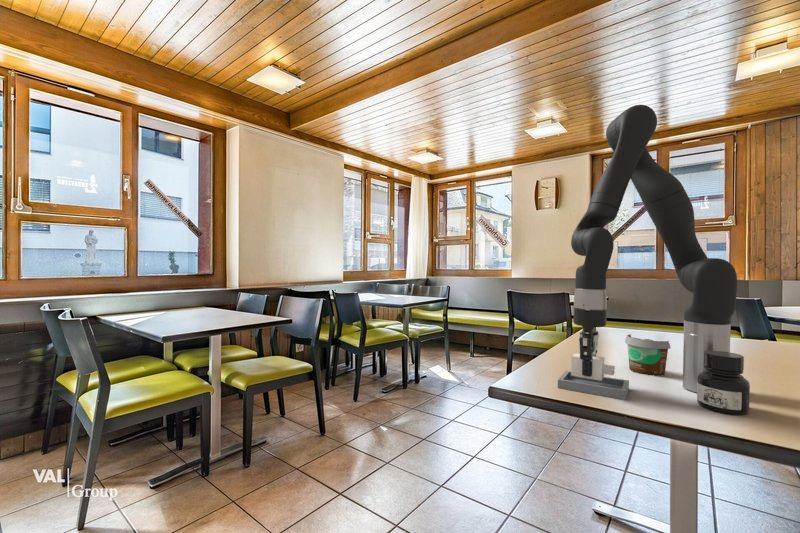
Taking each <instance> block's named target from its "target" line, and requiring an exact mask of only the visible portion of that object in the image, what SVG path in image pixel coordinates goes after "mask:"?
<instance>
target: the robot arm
mask: <svg viewBox="0 0 800 533" xmlns="http://www.w3.org/2000/svg"><path fill="white" fill-rule="evenodd" d="M657 126H658V116H657V113H656V112H655V110H654V109H653V108H651V107H650V106H648V105H645V104H636V105H633V106H631V107H628V108H626V110H624V111H623V112H621V113H620V114H619V115H618V116H616V117H615V118H614V119H613V120H612V121H610V123H609V124H608V125H607V127H606V131H605V137H606V141H607V143H608V145H609V147H610V148H611V150H612V152H613V155H612V157H611V159H610V160H609V162H608V164H607V166H606V168H605V169H604V171H603V172H602V174H601V176H600V178H599V180H598V181H597V183H596V185H595V188H594V190H593V193H592V194H591V198H590V200H589V204H588V207H587V208H586V211H585V212H584V214H583V216H582V217H581V219H580V221H579V222H578V223H577V225H576V226H575V228H574V230H573V233H572V236H571V239H570V241H571V242H570V245H571V249H572V251H573V252H574V253H575V255H578V256H581V257H584V263H583V264H582V265H579V266H578V267H577V268H576V271H575V286H574V288H575V289H574V295H573V322H572V323H573V324H574V325H576V326H581V327H582V330H581V332H579V339H578V341H579V354H580V359H581V360H582V375H583V376H589V377H591V376H592V361H593V356H597V354H598V347H599V337H600V332H599V331H597V328H604V327H606V326H607V310H608V309H607V303H608V300H607V299H608V297H607V271H608V269H609V266H610V262H611V259H612V256H613V251H614V238H613V237H614V236H613V235H612V233H611V232H610V231H609V230H608V229H607V228H605V227H606V226H607V225H608V224H609V225H610V224H611V223H612V222H613V221H615V220H616V218H617V216H618V214H619V211H620V207H621V205H622V201H623V199H624V196H625V193H626V191H627V188H628V186H629V183H630V180H631V183H632V184H633V186H634V187H635V189H636V192H637V193H638V195H639V198H640V200H641V202H642V204H643V205H644V208H645V210H646V212H647V214H648V215H649V218H650V220H651V221H652V223H653V225H654V226H655V229H656V230H657V232H658V235H659V236H660V238H661V241H662V242H663V244H664V246H665V248H666V250H667V252H668V254H669V256H670V259H671V261H672V265H673V267H674V270H675V272H676V275H677V278H678V280H679V283H680V284H681V285H682V287H683V288H685V289H686V290H687V291H688V292H691V293H693V294H692V303H691V305H690V306H689V307H687V308H686V309H684V312H683V346H682V347H683V352H682V354H683V356H682V358H683V359H682V360H683V361H682V387H683V388H684V389H685V390H688V391H690V392H693V393H697V381H698V375H699V374H700V373H701V372H703V371H704V370H706V369H705V368H704V351H724V352H731V328H732V327H731V322H732V321H731V320H732V317H733V315H734V313H735V310H736V307H737V306H736V304H737V292H738V276H737V271H736V269H735V267H734V266H733V265H732V263H730V262H729V261H728V260H726V259H724V258H717V257H714V258H713V257H711V258H710V257H708V256H707V255H706V253H705V252H704V250H703V248H702V246H701V244H700V242H699V240H698V238H697V234H696V228H695V226H696V225H695V223H696V222H695V212H694V207H693V203H692V201H691V199H690V197H689V195H688V193H687V191H686V189H685V188H684V186H683V184H682V183H681V181H680V180H679V179H678V178H677V177H675V175H674V174H672V173H671V172H669V171H668V170H666V169H665V168H664V167H663V166H661V165H660V164H659V163H658V162H657V161H655V159H654V158H653V156H651V154H650V151H649V150H648V148H647V145H648V144H649V142H650V141H651V138H652V137H653V136H654V133H655V131H656V129H657V128H658V127H657Z"/></svg>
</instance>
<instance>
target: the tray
mask: <svg viewBox="0 0 800 533" xmlns="http://www.w3.org/2000/svg"><path fill="white" fill-rule="evenodd" d="M557 389H562V390H568V391H573V392H578V393H585V394H590V395H595V396H601V397H606V398H613V399H618V400H623V401H626V400H627V398H628V394H629V390H630V380H629V379H628V380H627V379H622V378H616V377H609V376H604V378H603V379H602V381H600V380H594V379H588V378H582V377H576V376H571V370H565V371H564V372H563V374H561V375H560V377H559V378H558V379H557Z"/></svg>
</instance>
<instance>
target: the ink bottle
mask: <svg viewBox="0 0 800 533" xmlns="http://www.w3.org/2000/svg"><path fill="white" fill-rule="evenodd" d="M744 363H745V356H744V355H741V354H739V353H736V352H731V351H730V352H724V351H704V368H705V369H706V370H704V371H703V372H701V373H700V374H699V375H698V381H697V392H696V402H697V404H698V405H699V406H701V407H703V408H705V409H708V410H711V411H714V412H719V413H722V414H727V415H736V416H737V415H746V414H748V413H749V412H750V400H751V399H750V395H751V394H750V393H751V391H750V390H751V385H750V381H749V380H747V379H746V378H745V377H744V376H743V373H744V366H745V365H744Z"/></svg>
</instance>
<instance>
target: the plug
mask: <svg viewBox="0 0 800 533" xmlns="http://www.w3.org/2000/svg"><path fill="white" fill-rule="evenodd" d="M570 367H571V368H570V369H571V370H570V371H571V376H576V377H582V378H588V379H594V380H600V381H602V379H603V378H604V377H605V375H608V376H614V374H615V365H609V364H605V357H603V356H597V355H596V356H593V361H592V376H591V377H589V376H583V375H582V360H581V359H580V353H576V352H574V353H573V354H572V355H571V366H570Z"/></svg>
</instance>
